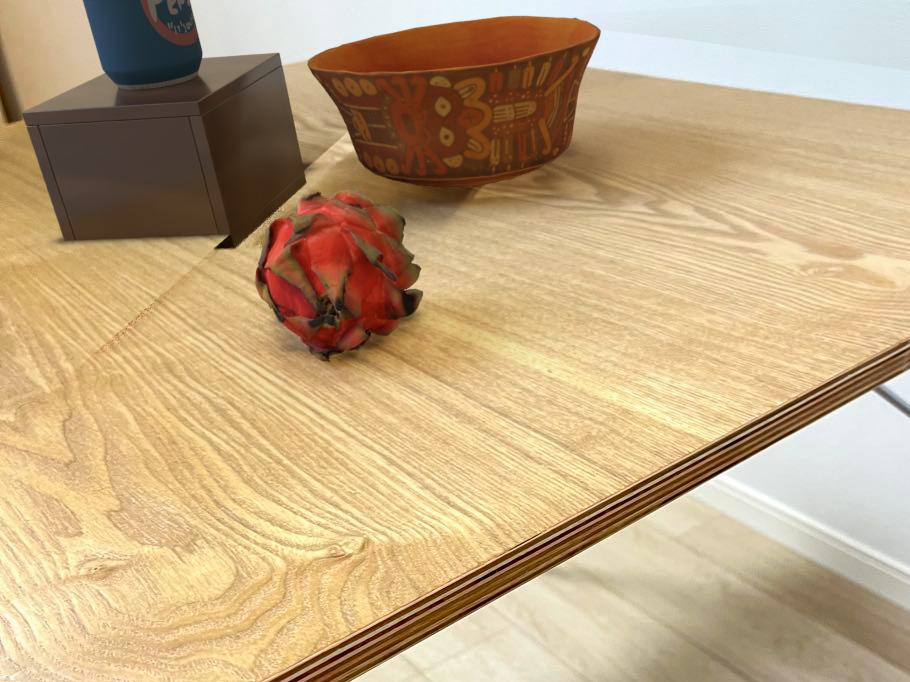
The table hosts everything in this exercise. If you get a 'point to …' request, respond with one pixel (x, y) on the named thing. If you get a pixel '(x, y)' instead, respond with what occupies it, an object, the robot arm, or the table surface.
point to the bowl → (460, 97)
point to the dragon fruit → (338, 271)
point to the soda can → (145, 41)
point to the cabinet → (171, 153)
